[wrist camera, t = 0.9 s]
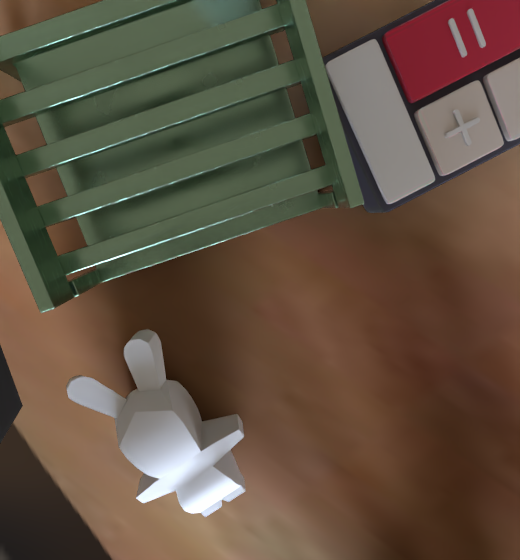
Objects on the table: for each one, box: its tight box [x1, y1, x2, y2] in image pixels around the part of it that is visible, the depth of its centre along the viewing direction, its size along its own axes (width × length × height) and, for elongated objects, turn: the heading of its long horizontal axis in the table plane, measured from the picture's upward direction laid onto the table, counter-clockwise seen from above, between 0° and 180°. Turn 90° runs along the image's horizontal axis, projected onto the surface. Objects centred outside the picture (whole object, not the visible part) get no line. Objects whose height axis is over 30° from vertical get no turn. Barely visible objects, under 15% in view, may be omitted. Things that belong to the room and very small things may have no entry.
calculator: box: [323, 0, 520, 213], centre depth 32 cm, size 11×4×15 cm
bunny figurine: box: [66, 329, 245, 517], centre depth 35 cm, size 10×5×15 cm
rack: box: [0, 0, 364, 313], centre depth 28 cm, size 16×18×11 cm
